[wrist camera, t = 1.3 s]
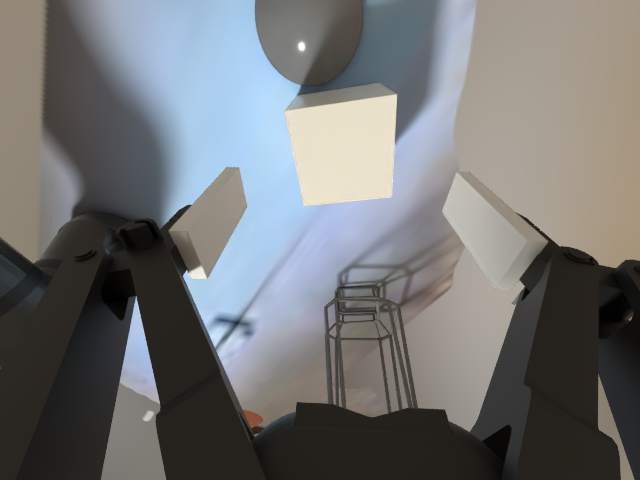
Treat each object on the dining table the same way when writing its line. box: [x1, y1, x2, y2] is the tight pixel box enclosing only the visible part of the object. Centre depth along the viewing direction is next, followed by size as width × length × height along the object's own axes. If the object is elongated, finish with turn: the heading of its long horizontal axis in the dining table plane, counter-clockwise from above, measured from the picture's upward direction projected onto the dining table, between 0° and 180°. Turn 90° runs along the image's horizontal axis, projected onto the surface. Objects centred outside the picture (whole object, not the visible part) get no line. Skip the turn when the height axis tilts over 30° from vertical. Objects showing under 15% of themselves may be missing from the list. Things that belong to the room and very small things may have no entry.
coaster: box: [255, 0, 363, 86], centre depth 23 cm, size 10×10×1 cm
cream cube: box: [285, 83, 397, 206], centre depth 26 cm, size 9×9×9 cm
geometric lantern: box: [324, 287, 418, 413], centre depth 35 cm, size 16×16×35 cm
